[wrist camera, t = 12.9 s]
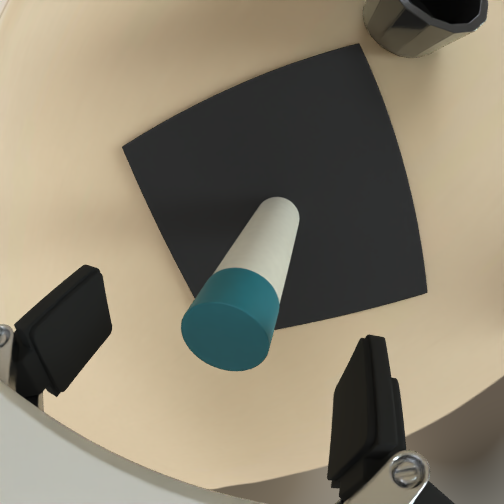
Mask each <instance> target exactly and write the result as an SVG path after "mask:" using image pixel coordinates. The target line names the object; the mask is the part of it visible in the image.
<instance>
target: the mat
mask: <svg viewBox="0 0 504 504" xmlns="http://www.w3.org/2000/svg"><path fill="white" fill-rule="evenodd" d="M122 148H123V151H124V153H125V155H126V158H127V160H128V162H129V165H130V167H131V169H132V171H133V174H134V176H135V178H136V180H137V183H138V185H139V187H140V189H141V192H142V194H143V196H144V198H145V200H146V202H147V205H148V207H149V209H150V211H151V213H152V215H153V217H154V219H155V221H156V224H157V226H158V228H159V230H160V232H161V234H162V236H163V238H164V240H165V242H166V244H167V246H168V248H169V250H170V252H171V254H172V256H173V258H174V260H175V262H176V264H177V266H178V268H179V269H180V271H181V273H182V275H183V277H184V279H185V281H186V283H187V285H188V287H189V288H190V290H191V292H192V294H193V296H194V298H196V297H197V295H198V294H199V292H200V291H201V289H202V288H203V286H204V285H205V283H206V282H207V280H208V279H209V278H210V277H211V276H212V275H213V274H214V272H215V271H216V269H217V268H218V266H219V265H220V263H221V262H222V260H223V259H224V257H225V256H226V254H227V253H228V251H229V250H230V248H231V247H232V245H233V244H234V242H235V241H236V240H237V238H238V237H239V235H240V234H241V232H242V231H243V229H244V228H245V226H246V225H247V223H248V222H249V220H250V219H251V218H252V216H253V215H254V213H255V212H256V210H257V209H258V207H259V206H260V205H261V203H262V202H264V201H265V200H267V199H269V198H272V197H282V198H285V199H287V200H289V201H291V202H292V203H293V204H294V205H295V207H296V208H297V210H298V213H299V225H298V229H297V233H296V238H295V242H294V246H293V251H292V255H291V259H290V263H289V267H288V272H287V276H286V280H285V284H284V288H283V292H282V296H281V300H280V304H279V313H278V317H277V321H276V325H275V328H274V330H276V329H282V328H287V327H292V326H297V325H302V324H306V323H311V322H316V321H320V320H325V319H329V318H334V317H338V316H342V315H347V314H351V313H355V312H359V311H363V310H367V309H371V308H375V307H379V306H382V305H386V304H390V303H394V302H397V301H401V300H404V299H408V298H411V297H415V296H418V295H422V294H425V293H427V283H426V275H425V267H424V260H423V253H422V247H421V241H420V235H419V229H418V224H417V219H416V214H415V209H414V204H413V200H412V195H411V191H410V187H409V183H408V179H407V175H406V171H405V167H404V164H403V160H402V156H401V153H400V149H399V146H398V143H397V140H396V136H395V133H394V130H393V127H392V124H391V121H390V118H389V115H388V112H387V110H386V107H385V104H384V101H383V99H382V96H381V93H380V91H379V88H378V86H377V83H376V81H375V78H374V76H373V73H372V71H371V69H370V66H369V64H368V62H367V59H366V57H365V55H364V53H363V51H362V49H361V46H360V44H355V45H351V46H347V47H343V48H340V49H336V50H333V51H329V52H326V53H322V54H319V55H316V56H313V57H310V58H307V59H304V60H301V61H298V62H295V63H292V64H289V65H286V66H284V67H281V68H278V69H276V70H273V71H270V72H268V73H265V74H263V75H260V76H258V77H255V78H253V79H251V80H248V81H246V82H243V83H241V84H239V85H237V86H234V87H232V88H230V89H228V90H225V91H223V92H221V93H219V94H217V95H215V96H213V97H210V98H208V99H206V100H204V101H202V102H200V103H198V104H196V105H194V106H192V107H190V108H188V109H187V110H185V111H183V112H181V113H179V114H177V115H175V116H173V117H172V118H170V119H168V120H166V121H164V122H163V123H161V124H159V125H157V126H156V127H154V128H152V129H150V130H149V131H147V132H145V133H144V134H142V135H140V136H139V137H137V138H135V139H134V140H132V141H131V142H129V143H127V144H126V145H124V146H123V147H122Z"/></svg>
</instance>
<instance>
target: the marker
mask: <svg viewBox="0 0 504 504" xmlns="http://www.w3.org/2000/svg"><path fill="white" fill-rule="evenodd" d="M298 225H299V213H298V210H297V208H296V207H295V205H294V204H293V203H292V202H291V201H289V200H287V199H285V198H282V197H272V198H269V199H267V200H265V201H264V202H262V203H261V205H260V206H259V207H258V209H257V210H256V212H255V213H254V215H253V216H252V218H251V219H250V220H249V222H248V223H247V225H246V226H245V228H244V229H243V231H242V232H241V234H240V235H239V237H238V238H237V240H236V241H235V242H234V244H233V245H232V247H231V248H230V250H229V251H228V253H227V254H226V256H225V257H224V259H223V260H222V262H221V263H220V265H219V266H218V268H217V269H216V271H215V272H214V274H213V275H212V276H211V277H210V278H209V279H208V280H207V282H206V283H205V285H204V286H203V288H202V289H201V291H200V292H199V294H198V295H197V297H196V298H195V300H194V301H193V303H192V304H191V306H190V307H189V309H188V310H187V312H186V313H185V315H184V317H183V319H182V323H181V331H182V336H183V339H184V341H185V343H186V345H187V346H188V347H189V349H190V350H191V351H192V352H193V353H194V354H195V355H196V356H197V357H198V358H199V359H201V360H202V361H204V362H205V363H207V364H209V365H211V366H214V367H216V368H219V369H223V370H228V371H244V370H248V369H252V368H254V367H256V366H257V365H259V364H260V363H261V362H263V360H264V359H265V358H266V356H267V354H268V351H269V348H270V344H271V340H272V336H273V332H274V328H275V325H276V321H277V317H278V313H279V304H280V300H281V296H282V292H283V288H284V284H285V280H286V276H287V272H288V267H289V263H290V259H291V255H292V251H293V246H294V242H295V238H296V233H297V229H298Z"/></svg>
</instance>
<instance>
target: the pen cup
mask: <svg viewBox="0 0 504 504" xmlns="http://www.w3.org/2000/svg"><path fill="white" fill-rule="evenodd" d="M487 10H488V1H487V0H366V2H365V5H364V9H363V19H364V23H365V26H366V28H367V30H368V32H369V33H370V35H371V36H372V37H373V39H374V40H375V41H376V42H377V43H378V44H379V45H381V46H382V47H383V48H385V49H386V50H388V51H389V52H391V53H394V54H396V55H399V56H402V57H408V58H417V57H422V56H425V55H429V54H431V53H432V52H434V51H436V50H438V49H440V48H442V47H444V46H446V45H448V44H450V43H452V42H454V41H456V40H458V39H460V38H462V37H464V36H466V35H468V34H470V33H472V32H474V31H476V30H477V29H478V28H479V27H480V26H481V25H482V24H483V23H484V22H485V21H486V18H487Z"/></svg>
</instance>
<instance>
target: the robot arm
mask: <svg viewBox="0 0 504 504" xmlns="http://www.w3.org/2000/svg"><path fill="white" fill-rule="evenodd" d="M14 326H15V328H16V331H15V332H13V330H12V328H11V327H10V326H8V325H5V324H0V504H265V503H261V502H256V501H252V500H247V499H242V498H238V497H234V496H230V495H226V494H223V493H219V492H215V491H212V490H208V489H205V488H202V487H198V486H195V485H192V484H189V483H186V482H183V481H180V480H177V479H175V478H172V477H169V476H167V475H164V474H161V473H159V472H156V471H154V470H151V469H149V468H146V467H144V466H142V465H139V464H137V463H135V462H133V461H130V460H128V459H126V458H124V457H122V456H120V455H118V454H115V453H113V452H111V451H109V450H107V449H105V448H104V447H102V446H100V445H98V444H96V443H94V442H92V441H90V440H89V439H87V438H85V437H83V436H81V435H80V434H78V433H76V432H75V431H73V430H71V429H70V428H68V427H66V426H65V425H63V424H61V423H60V422H58V421H57V420H55V419H54V418H52V417H51V416H49V415H48V414H46V413H45V412H44V406H43V391H44V389H45V388H46V389H47V391H48V392H50V393H51V394H53V395H55V396H56V397H57V396H58V395H59V394H60V392H64V391H65V390H66V389H67V388H68V386H69V385H70V384H71V382H72V381H73V380H74V379H75V377H76V376H77V375H78V374H79V372H80V371H81V370H82V368H83V367H84V366H85V365H86V363H87V362H88V361H89V360H90V358H91V357H92V356H93V355H94V354H95V352H96V351H97V350H98V349H99V347H100V346H101V345H102V344H103V343H104V341H105V340H106V339H107V338H108V337H109V335H110V334H111V331H112V324H111V319H110V314H109V309H108V304H107V299H106V293H105V288H104V282H103V276H102V274H101V273H100V270H99V269H98V268H95V267H92V266H89V265H83V266H82V267H80V268H79V269H78V270H77V271H75V272H74V273H73V274H72V275H71V276H69V277H68V278H67V279H66V280H64V281H63V282H62V283H61V284H60V285H58V286H57V287H56V288H55V289H54V290H52V291H51V292H50V293H49V294H48V295H47V296H45V297H44V298H43V299H42V300H41V301H40V302H39V303H37V304H36V305H35V306H34V307H33V308H32V309H31V310H30V311H28V312H27V313H26V314H25V315H24V316H23V317H22V318H21V319H20V320H19V321H18V322H16V323H15V324H14ZM429 476H430V468H429V464H428V463H427V460H426V459H425V458H424V457H423V456H422V455H421V454H419V453H417V452H416V451H411V450H406V442H405V431H404V421H403V412H402V404H401V397H400V389H399V384H398V380H397V379H396V378H391V372H390V366H389V359H388V353H387V347H386V341H385V338H384V337H380V336H374V335H367V336H366V338H361V339H360V340H359V342H358V344H357V346H356V349H355V351H354V353H353V355H352V357H351V359H350V361H349V363H348V365H347V367H346V369H345V371H344V373H343V375H342V377H341V379H340V381H339V383H338V384H337V386H336V389H335V392H334V399H333V417H332V431H331V443H330V454H329V464H328V474H327V479H328V480H332V484H331V488H340V491H339V497H340V498H341V499H340V500H338V501H337V502H336V503H335V504H454V503H453V502H452V501H451V500H450V499H449V498H448V497H446V496H445V495H444V494H443V493H442V492H441V491H439V490H438V489H437V488H436V487H435V486H434V485H433V484H432V483H430V482H429V481H428V480H429Z"/></svg>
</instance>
